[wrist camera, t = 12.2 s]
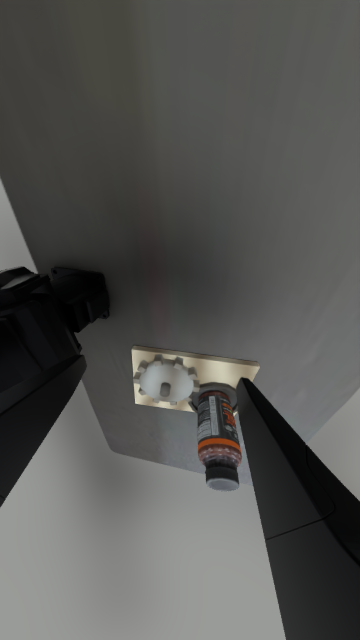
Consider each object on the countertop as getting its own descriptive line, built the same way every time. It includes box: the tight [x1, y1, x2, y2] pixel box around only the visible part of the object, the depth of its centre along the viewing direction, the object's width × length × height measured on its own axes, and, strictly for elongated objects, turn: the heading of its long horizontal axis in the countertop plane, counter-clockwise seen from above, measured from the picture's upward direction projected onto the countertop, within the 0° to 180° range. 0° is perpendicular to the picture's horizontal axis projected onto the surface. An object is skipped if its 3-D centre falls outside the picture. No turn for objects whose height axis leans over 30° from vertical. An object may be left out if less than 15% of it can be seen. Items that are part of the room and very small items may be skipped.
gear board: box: [132, 345, 260, 416], centre depth 27 cm, size 20×14×4 cm
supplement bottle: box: [198, 391, 242, 491], centre depth 24 cm, size 6×6×11 cm
